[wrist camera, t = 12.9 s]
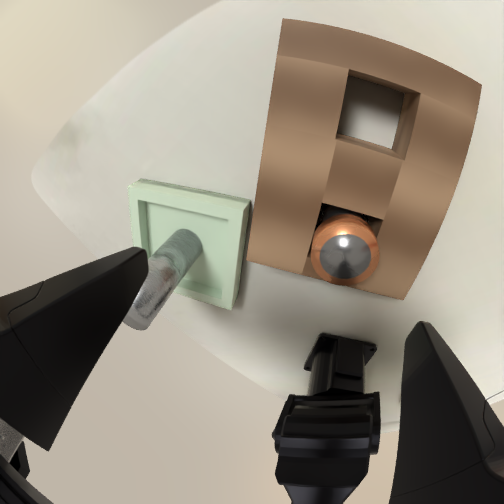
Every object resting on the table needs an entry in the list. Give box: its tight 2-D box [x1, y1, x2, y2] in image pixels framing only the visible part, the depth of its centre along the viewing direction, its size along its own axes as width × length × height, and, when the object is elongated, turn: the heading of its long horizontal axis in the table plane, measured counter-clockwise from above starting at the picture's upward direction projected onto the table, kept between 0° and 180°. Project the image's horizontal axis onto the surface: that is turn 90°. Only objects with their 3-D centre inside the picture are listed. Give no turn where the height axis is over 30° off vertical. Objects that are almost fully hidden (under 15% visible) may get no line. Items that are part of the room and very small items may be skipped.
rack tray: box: [128, 179, 251, 310], centre depth 24 cm, size 10×10×2 cm
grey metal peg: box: [123, 229, 202, 330], centre depth 20 cm, size 3×3×9 cm
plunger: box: [311, 205, 380, 286], centre depth 17 cm, size 4×4×5 cm
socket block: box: [246, 18, 482, 300], centre depth 16 cm, size 16×12×4 cm
